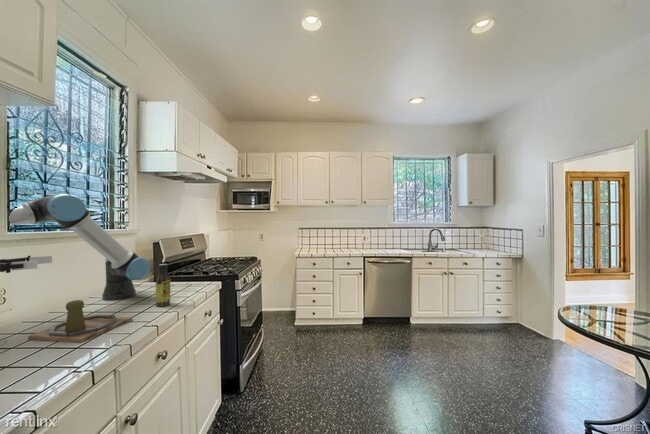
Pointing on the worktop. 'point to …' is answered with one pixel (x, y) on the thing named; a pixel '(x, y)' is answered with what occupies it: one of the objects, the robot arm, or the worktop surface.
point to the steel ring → (55, 333)
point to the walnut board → (85, 336)
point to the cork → (75, 316)
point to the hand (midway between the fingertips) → (44, 261)
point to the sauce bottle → (163, 286)
